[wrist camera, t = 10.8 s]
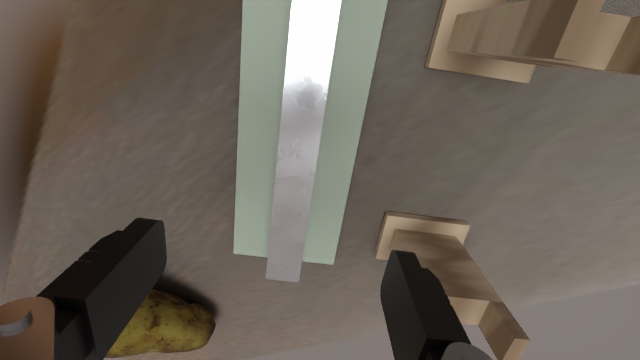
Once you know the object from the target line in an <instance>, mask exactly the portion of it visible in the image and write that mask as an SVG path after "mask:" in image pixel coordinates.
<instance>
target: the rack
mask: <svg viewBox="0 0 640 360" xmlns="http://www.w3.org/2000/svg"><path fill="white" fill-rule="evenodd" d="M604 1H605V0H525V1H520V2H515V3H514V2H509V1H503V0H443V1H442V5H441V8H440V12H439V16H438V19H437V23H436V27H435V31H434V34H433V38H432V42H431V45H430V49H429V53H428V57H427V60H426V64H425V67H428V68H434V69H440V70H446V71H453V72H459V73H465V74H472V75H478V76H484V77H490V78H497V79H503V80H509V81H515V82H522V83H528V84H529V81H530V79H531V76H532V74H533V71H534V69H535V66H536V65H541V66H552V67H562V68H572V69H582V70H592V71H602V72H613V73H623V74H633V75H640V16H638V17H628V16H623V15H617V14H611V13H606V12H600V10H601V8H602V5H603V3H604ZM469 228H470V225H469V224H468V222H467V221H460V220H452V219H444V218H436V217H428V216H420V215H412V214H404V213H397V212H389V211H386V212H385V216H384V220H383V223H382V227H381V231H380V234H379V238H378V242H377V246H376V249H375V253H374V254H375V258H376V259H383V260H388V259H389V256H390V253H391V251H392V250H399V251H408V252H414V253H415V254H416V256H417V258H418V260H419V263H420V265H421V267H422V268H428V269H429V270H430V271H431V272H432V273H433V274H434V275H435V276H436V277H437V278H438V279H439V280H440V282H441V284H442V286H443V288H444V290H445V294H447V296H448V298H449V300H450V305H452V306H453V308H454V310H455V312H456V314H457V316H458V318H459V320H460V322H461V323H462V324H472V325H478V326H479V328H480V330H481V331H482V333H483V335H484V337H485V338H486V340H487V342H488V344H489V345H490V347H491V349H492V351H493V353H494V354H495V356H496V358H497V359H498V360H518V359H519V357H520V356H521V354H522V352H523V351H524V349H525V347H526V346H527V344H528V343H529V341H530V339H529V338H528V336H527V335H526V334H525V332H524V331H523V329H522V328H521V327H520V326H519V324H518V322H517V321H516V320H515V318H514V317H513V315H512V314H511V313H510V311H509V310H508V308H507V307H506V306H505V304H504V303H503V301H502V300H501V299H500V297H499V296H498V294H497V293H496V292H495V290H494V289H493V287H492V286H491V285H490V283H489V282H488V280H487V279H486V278H485V276H484V275H483V274H482V272H481V271H480V269H479V268H478V267H477V265H476V264H475V262H474V261H473V260H472V258H471V257H470V255H469V254H468V253H467V251H466V250H465V248H464V247H463V246H462V245H463V243H464V240H465V238H466V235H467V233H468V230H469Z"/></svg>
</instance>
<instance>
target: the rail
mask: <svg viewBox="0 0 640 360" xmlns="http://www.w3.org/2000/svg"><path fill="white" fill-rule="evenodd" d="M340 6H341V0H292V5H291V15H290V26H289V37H288V47H287V58H286V69H285V79H284V90H283V100H282V111H281V122H280V132H279V143H278V154H277V164H276V175H275V186H274V196H273V207H272V218H271V228H270V239H269V250H268V260H267V271H266V279H272V280H281V281H290V282H299V277H300V271H301V264H302V257H303V251H304V244H305V238H306V231H307V224H308V218H309V211H310V205H311V198H312V191H313V185H314V178H315V172H316V165H317V158H318V152H319V145H320V139H321V132H322V125H323V119H324V112H325V105H326V99H327V92H328V86H329V79H330V72H331V66H332V59H333V53H334V46H335V39H336V33H337V26H338V20H339V13H340Z"/></svg>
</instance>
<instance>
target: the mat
mask: <svg viewBox="0 0 640 360" xmlns="http://www.w3.org/2000/svg"><path fill="white" fill-rule="evenodd" d="M387 2H388V0H341V6H340V13H339V20H338V26H337V33H336V39H335V46H334V53H333V59H332V66H331V72H330V79H329V86H328V92H327V99H326V105H325V112H324V119H323V125H322V132H321V139H320V145H319V152H318V158H317V165H316V172H315V178H314V185H313V191H312V198H311V205H310V211H309V218H308V224H307V231H306V238H305V244H304V251H303V257H302V261H304V262H313V263H322V264H330V265H333V264H334V259H335V254H336V249H337V245H338V240H339V235H340V230H341V225H342V220H343V215H344V211H345V206H346V201H347V196H348V191H349V186H350V182H351V177H352V172H353V167H354V162H355V157H356V152H357V148H358V143H359V138H360V133H361V128H362V123H363V118H364V114H365V109H366V104H367V99H368V94H369V89H370V84H371V80H372V75H373V70H374V65H375V60H376V55H377V51H378V46H379V41H380V36H381V31H382V26H383V21H384V17H385V12H386V7H387ZM291 5H292V0H243V13H242V39H241V65H240V92H239V118H238V144H237V171H236V197H235V223H234V250H233V254H242V255H251V256H260V257H268V250H269V239H270V228H271V218H272V207H273V196H274V186H275V175H276V164H277V154H278V143H279V132H280V122H281V111H282V100H283V90H284V79H285V69H286V58H287V47H288V37H289V26H290V15H291Z"/></svg>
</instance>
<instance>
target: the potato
mask: <svg viewBox="0 0 640 360" xmlns="http://www.w3.org/2000/svg"><path fill="white" fill-rule="evenodd" d="M215 325H216V324H215V321H214V318H213V316H212V315H211V313H210V312H209V311H208V310H207V309H206V308H205V307H204V306H201V305H199V304H188V303H187V302H186V301H184V300H183V299H180V298H178V297H176V296H174V295H172V294H169V293H166V292H162V291H159V290H155V289H151V291H150V292H149V294H148V295H147V297H146V298H145V300H144V301H143V303H142V304H141V305H140V307H139V308H138V310H137V311H136V313H135V314H134V316H133V317H132V318H131V320H130V321H129V323H128V324H127V326H126V327H125V329H124V330H123V331H122V333H121V334H120V336H119V337H118V339H117V340H116V342H115V343H114V345H113V346H112V347H111V349H110V350H109V352H108V353H107V355H106V356H105V358H117V357H125V356H131V355H137V354H142V353H146V352H160V353H173V352H188V351H192V350H196V349H199V348H202V347H203V346H205V345H206V344H207V342H208V341H209V339H210V337H211V335H212V334H213V332H214V329H215Z"/></svg>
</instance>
